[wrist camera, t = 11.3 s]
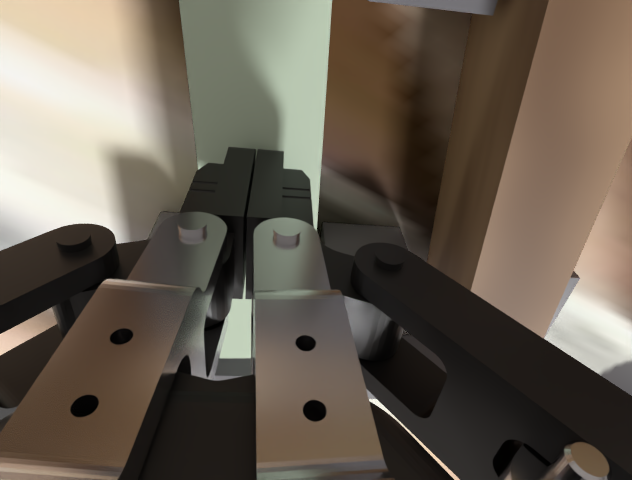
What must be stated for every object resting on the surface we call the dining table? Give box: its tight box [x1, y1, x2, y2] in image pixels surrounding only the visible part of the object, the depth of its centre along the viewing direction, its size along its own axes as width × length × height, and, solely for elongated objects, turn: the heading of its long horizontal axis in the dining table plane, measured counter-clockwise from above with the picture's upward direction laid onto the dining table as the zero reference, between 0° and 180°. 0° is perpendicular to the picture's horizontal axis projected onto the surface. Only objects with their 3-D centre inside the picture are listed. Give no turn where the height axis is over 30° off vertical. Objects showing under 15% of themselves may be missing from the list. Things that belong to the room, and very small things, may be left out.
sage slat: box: [179, 0, 332, 358], centre depth 14 cm, size 4×16×5 cm, turn 177°
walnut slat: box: [427, 0, 632, 338], centre depth 15 cm, size 4×16×5 cm, turn 0°
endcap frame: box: [148, 0, 580, 399], centre depth 15 cm, size 18×26×3 cm
